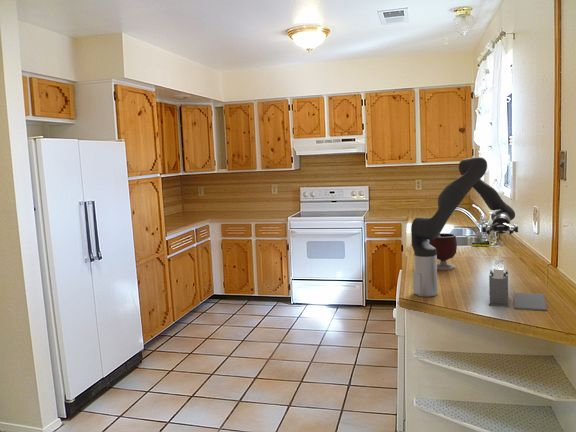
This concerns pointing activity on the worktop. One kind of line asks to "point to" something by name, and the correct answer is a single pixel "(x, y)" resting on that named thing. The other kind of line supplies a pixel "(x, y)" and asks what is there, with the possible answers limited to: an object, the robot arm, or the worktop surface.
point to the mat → (529, 301)
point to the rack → (498, 290)
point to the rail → (498, 269)
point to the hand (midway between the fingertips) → (499, 232)
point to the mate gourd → (445, 249)
